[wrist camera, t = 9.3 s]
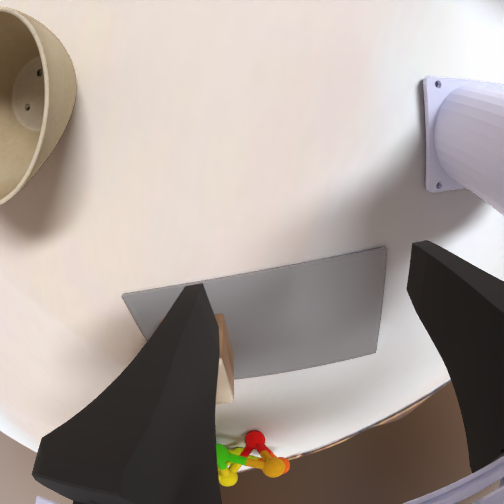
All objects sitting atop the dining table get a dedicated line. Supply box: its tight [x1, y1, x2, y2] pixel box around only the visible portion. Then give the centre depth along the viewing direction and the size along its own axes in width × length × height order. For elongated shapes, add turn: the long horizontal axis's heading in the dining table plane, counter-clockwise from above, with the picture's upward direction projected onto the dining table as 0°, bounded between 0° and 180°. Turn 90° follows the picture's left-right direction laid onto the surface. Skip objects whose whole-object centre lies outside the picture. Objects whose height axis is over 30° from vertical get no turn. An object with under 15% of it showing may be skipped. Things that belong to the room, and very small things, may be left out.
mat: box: [122, 247, 387, 380], centre depth 25 cm, size 20×12×1 cm, turn 101°
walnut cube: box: [161, 314, 234, 404], centre depth 23 cm, size 5×5×5 cm
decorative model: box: [216, 431, 290, 486], centre depth 33 cm, size 13×9×15 cm
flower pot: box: [0, 7, 77, 206], centre depth 11 cm, size 10×10×7 cm
